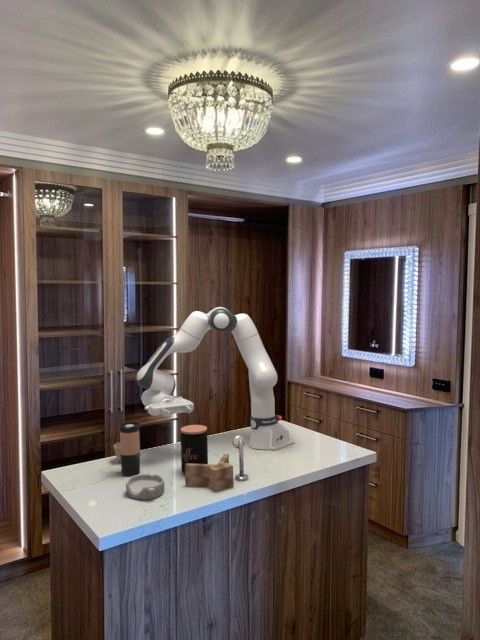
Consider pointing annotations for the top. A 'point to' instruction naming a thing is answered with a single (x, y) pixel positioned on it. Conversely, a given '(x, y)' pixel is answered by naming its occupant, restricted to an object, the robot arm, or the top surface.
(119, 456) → the flower pot
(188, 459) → the coffee jar
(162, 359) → the robot arm
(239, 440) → the metal ball stand
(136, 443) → the travel mug
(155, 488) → the dish
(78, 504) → the top surface
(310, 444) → the top surface
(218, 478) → the wooden l-shaped bracket
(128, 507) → the top surface
